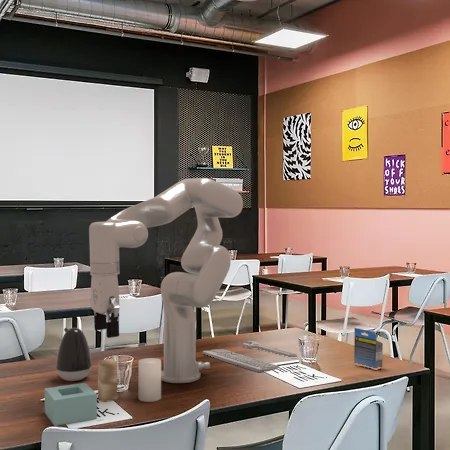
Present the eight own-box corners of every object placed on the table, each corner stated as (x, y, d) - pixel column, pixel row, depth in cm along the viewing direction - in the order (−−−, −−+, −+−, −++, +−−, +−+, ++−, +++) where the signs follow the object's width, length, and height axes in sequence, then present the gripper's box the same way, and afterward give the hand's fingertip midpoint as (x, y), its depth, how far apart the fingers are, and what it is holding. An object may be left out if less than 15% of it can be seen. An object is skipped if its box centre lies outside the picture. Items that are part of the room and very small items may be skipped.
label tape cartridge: (383, 369, 184) (383, 330, 183) (375, 371, 181) (375, 332, 181) (361, 363, 191) (361, 326, 190) (353, 364, 188) (353, 327, 188)
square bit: (112, 395, 155) (112, 358, 155) (117, 399, 152) (117, 362, 151) (97, 397, 153) (97, 360, 153) (102, 401, 150) (102, 363, 149)
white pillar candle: (155, 393, 157) (155, 357, 157) (164, 399, 152) (164, 362, 152) (135, 396, 154) (135, 359, 154) (143, 403, 149) (143, 364, 149)
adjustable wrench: (299, 359, 197) (299, 354, 197) (285, 362, 193) (285, 356, 193) (252, 344, 217) (252, 340, 217) (239, 347, 213) (239, 342, 213)
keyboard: (282, 369, 184) (282, 363, 184) (259, 375, 178) (259, 368, 178) (225, 351, 207) (225, 346, 207) (202, 356, 200) (202, 350, 200)
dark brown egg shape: (80, 371, 177) (80, 322, 177) (97, 379, 170) (98, 328, 169) (49, 378, 170) (49, 327, 170) (66, 386, 163) (66, 333, 162)
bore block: (84, 406, 146) (84, 382, 146) (96, 418, 138) (96, 393, 138) (44, 412, 141) (44, 388, 141) (54, 426, 133) (54, 400, 133)
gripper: (81, 266, 156) (82, 328, 157) (101, 273, 141) (103, 342, 142) (107, 264, 160) (109, 325, 161) (130, 271, 145) (132, 338, 146)
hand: (106, 333), depth 151 cm, fingers open, 9 cm apart
